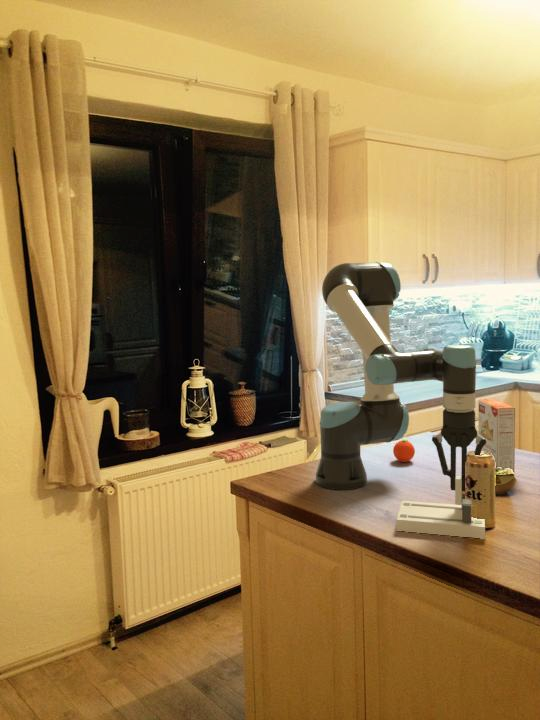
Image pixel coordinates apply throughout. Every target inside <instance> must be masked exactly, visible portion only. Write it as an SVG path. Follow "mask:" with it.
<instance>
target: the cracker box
mask: <svg viewBox="0 0 540 720" xmlns="http://www.w3.org/2000/svg"><path fill="white" fill-rule="evenodd" d="M477 434H478V435H480V436H481V437H485V438H486V444H485V445H484V446H483V448H482V449H481V451H486V452H490V453H492V455H493V456H494V458H495V462H496V468H497V467H502V468H510V469H512V470H513V472H514V473H515V464H516V463H515V461H516V460H515V459H516V458H515V455H516V454H515V453H516V452H515V451H516V450H515V447H516V442H515V441H516V440H515V439H516V438H515V437H516V407H514V406H512V405H510V404H508V403H505V402H503V401H501V400H499V399H497V398H481V399H478V430H477Z"/></svg>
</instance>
